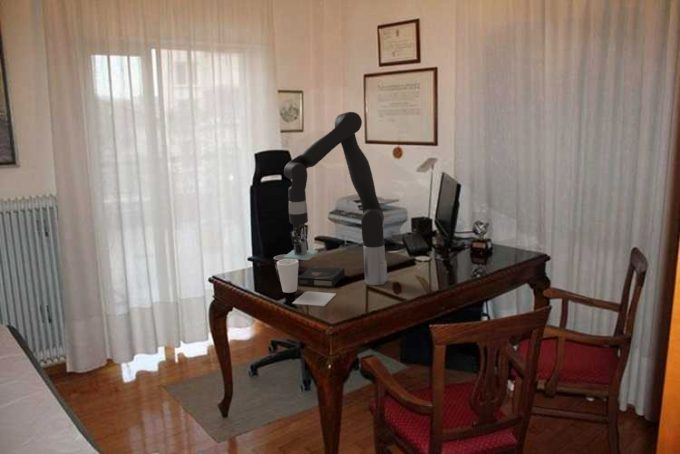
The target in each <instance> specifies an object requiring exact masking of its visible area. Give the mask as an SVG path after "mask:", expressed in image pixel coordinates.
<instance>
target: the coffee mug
mask: <svg viewBox="0 0 680 454" xmlns="http://www.w3.org/2000/svg"><path fill="white" fill-rule="evenodd" d="M285 255H286V254H279V255H276V256H274V257H273V260H274V261H273V262H274V266H275V270H276V271H275V272H276V277H277V279H278V280H280V277H279V272H278V269H277V262H278V261H279V260H283V257H284V256H285Z"/></svg>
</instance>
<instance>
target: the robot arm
mask: <svg viewBox="0 0 680 454" xmlns="http://www.w3.org/2000/svg"><path fill="white" fill-rule="evenodd" d="M362 124H363V121H362V118H361V116H360V114H358V113H357V112H355V111H346V112H344V113H341V114H338V115H336V118H335V120H334V128H333V129H332V130H331V131H329V132H328V133H327V134H325V135H324V136H322V137H321V138H320V139H318V140H317V141H315V142H314V143H312V144H311V145H310V146H308V148H307V149H305V151H303V152H302V153H301V154H299V155H298V156H296V157H294V158H292V159H291V160H290V161H288V163H286V165H285V166H284V169H283V175H284V176H285V178H286V179H288V180H291V186H289V187H288V191H287V193H288V194H287V196H288V216H289V217H288V219H289V223H290V224H291V225H293V227H292V231H289V232H290V233H289V234H290V239H291V243H292V245H294V244H295V247H296V253H297V254H300V253H301V241H306V242H307V239H308V234H309V233H308V231H309V225H308V224H307V223H308V221H309V217H308V204H307V196H306V193H307V192H306V188H307V183H308V169H309V168H313V167H315V166H316V165H318V163H319V162H320V161H321V160H323V159H324V158H325V157H326V156H327V155H328V154H329V153H331V152H332V151H333V149H335V148H336V147H337V146H338V145H341V147H342V151H343V154H344V159H345V161H346V162H345V163H346V165H347V169H348V172H349V175H350V180H351V184H352V185H353V188H354V190H355V191H356V194H357V195H358V198H359V201H360V202H361V208H362V209H361V210H362V216H361V221H360V222H361V225H360V226H361V239H362V243H363V244H362V246H363V247H362V248H363V265H364V266H363V267H364V283H365V284H366V285H368V286H380V285H381V286H382V285H385V284H386V282H387V281H388V268H387V264H388V263H387V260H386V258H385V257H386V256H385V255H386V253H385V252H386V251H385V238H384V220H385V215H384V212H383V209H382V207H381V205H380V202H379V200H378V196H377V192H376V187H375V186H376V185H375V181H374V178H373V173H372V169H371V166H370V163H369V160H368V158H367V157H366V154H365V153H364V152H363V150H362V149H361V148H360V145H359V143H358V141H357V137H356V133H358V132H359V131H360V129H361V128H362Z"/></svg>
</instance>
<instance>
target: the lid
mask: <svg viewBox="0 0 680 454" xmlns="http://www.w3.org/2000/svg"><path fill="white" fill-rule="evenodd" d="M307 243H308V242H307V240H306V241H301V253H300V254H297V253H296V247H295V244H293V249H292V250H291V251H290V252H288V253H287V254H284V255H285V256H284V257H283V259H297V260H298V261H299V260H303V261H309V260H310V259H312V257H314V256H316V255H317V254H318V253H319V250H317V249H315V250H314V249H313V250H312V249H310V250H309V249H308V247H307Z"/></svg>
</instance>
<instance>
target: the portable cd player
mask: <svg viewBox="0 0 680 454" xmlns="http://www.w3.org/2000/svg"><path fill="white" fill-rule="evenodd" d="M345 275H346V272H345V267H330V266H329V267H328V266H327V267H326V266H312V265H311V266H310V267H309V268H307V270H305V271H303V272H302V273H301V274H300V275H298V281H297V286H304V287H305V286H306V287H320V288H333V287H334V286H336V284H338V283H339V282H340V281H341V280H342V279H343V278H344V277H345Z"/></svg>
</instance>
